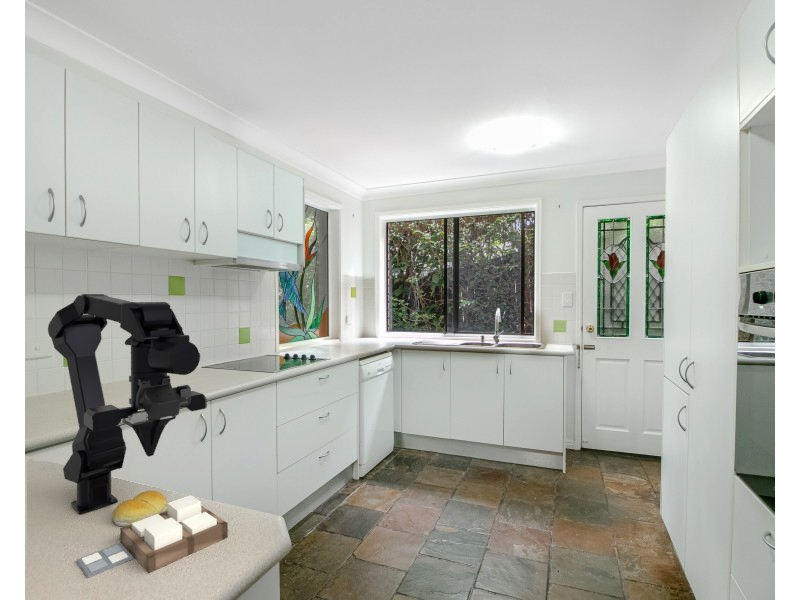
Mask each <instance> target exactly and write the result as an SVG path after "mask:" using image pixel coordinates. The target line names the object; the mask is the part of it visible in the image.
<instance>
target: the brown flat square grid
mask: <svg viewBox="0 0 800 600" xmlns="http://www.w3.org/2000/svg"><path fill="white" fill-rule="evenodd" d="M203 512H207V513H208V514H209V515H211V516H212V517H214V518H215V519H217V525H214V526H212V527H210V528H207V529H205V530H203V531H200V532H198V533H195V534H193V535H190V534H189V533H188V532H187V531H185V530H184V529H183V528H182V539H181V540H179V541H176V542H174V543H172V544H169V545H167V546H165V547H162V548H160V549H157V550H155V551H153V550H152V549H150V548H149V547H148V546H147V545H146V544H145V543H144V536H143V537H140V538H139V537H138V536H137V535H136V534H135V533H134V532H133V531H132V524H130V525H127V526H125V527H119V528H120V529H119V530H120V534H119V536H120V542H119V543H121V544H122V545H123V546H124V548H125V549H126V550H127V551H128V552H129V553H130V554H131V555H132V556H133V559H135V560H136V561H137V562H138V563H139V564H140V565H141V567H143V569H144V570H145V571H146V572H147V573H148V574H150V573H151V572H152V573H153V572H154V571H157V570H159V569H161V568H163V567H166V566H168V565H170V564H172V563H174V562H177V561H178V560H182V559H183V558H185V557H187V556H189V555H192V554H194V553H196V552H199V551H201V550H203V549H205V548H207V547H209V546H212V545H213V544H214V545H215V544H216V543H219V542H220V541H223V540H225V539H227V538H228V537H229V536H228V535H229V534H228V533H229V530H228V524H229V523H228V522H227V521H225V520H224V519H222V518H221V517H219V516H218V515H217V514H215V513H213V512H212V511H210V510H209V509H207V508H206V507H204V506H203V505H202V504H201V513H203ZM159 515H160V516H161V517H162V518H164V519H165V520H166V519H169V517H168V515H167V511H166V512H163V513H160V514H159ZM178 523H179V524H181V522H178Z"/></svg>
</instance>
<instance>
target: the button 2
mask: <svg viewBox="0 0 800 600" xmlns="http://www.w3.org/2000/svg"><path fill="white" fill-rule="evenodd" d="M181 539H182V525H181V524H179V523H178V522H177V521H176V520H174V519H173V518H172V517H171V518H169V519H166V520H163V521H161V522H158V523H155V524H153V525H150V526H147V527H145V528H144V543H145V544H146V545H147V546H148V547H149V548H150V549H152V550H153V551H155V550H157V549H160V548H162V547H165V546H167V545H169V544H172V543H174V542H176V541H179V540H181Z"/></svg>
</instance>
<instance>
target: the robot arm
mask: <svg viewBox="0 0 800 600" xmlns="http://www.w3.org/2000/svg"><path fill="white" fill-rule="evenodd" d="M75 297H76V298H75V299H74V301H72V302H71V303H70V304H68V305H66V306H64V307H63V308H61V309H59V310H57V311H56V313H55V314H54V315H53V317H52V319H51V320H50V322H49V323H48V326H47V333H48V335H49V337H50V338H51V340H52V341H51V342H52V345H53V348H54V349H55V350H56V351H57V353H59V354H60V355H61V356H62V357H64V358H65V360H66V363H67V364H66V365H67V369H68V374H69V379H70V385H71V392H72V395H73V400H74V407H75V411H76V417H77V423H78V424H77V425H78V430H77V432H76V435H75V437H74V440H73V441H72V444H71V450H72V454H71V455H70V457H69V459H68V460H67V462H66V463H65V465H64V466H63V468H62V469H63V470H62V471H63V477H64V479H65V480H67V481H70V482H72V483H74V484H76V499H75V500H73V501H71V502H70V504H71V506H72V507H73V509H74V510H75V511H76V512H77V513H78V514H79V515H83V514H84V513H88V512H91V511H94V510H98V509H102V508H105V507H107V506H110V505H113V504H114V505H115V504H116V503H118V501H119V500H118V498H117V497H116V496H115V495H113V494H112V472H113V471H116V470H120V469H122V468H123V465H124V461H125V456H126V451H127V446H126V442H125V439H124V435H123V428H122V427H121V426H120V425H119V424H120V423H121V422H122V423H123V424H125V425H127V426H128V427H130V428H132V430H133V431H134V432H135V435H137V436H136V437H137V438H138V440H139V442H140V444H141V446H142V449H143V451H144V453H145V455H146V456H147V457H152V456H154V455H155V452H156V449H157V446H158V444H159V441H160V439H161V436H162V434H163V432H164V430H165V427H166V426H167V424H168V423H170V421H172V420H176V418H177V416H179V415H180V410H181V408H182V409H183V408H186V409H187V410H189V411H190V412H195V411H200V410H205V409H207V408H208V406H207V405H208V404H207V401H208V399H207V397H206V395H205V394H203V393H202V392H198V391H194V390H192V389H191V386H190V385H188V384H184V385H183V384H182V385H178V386H177V387H172V386H173V385H172V383H171V378H170V377H171V376H170V375H168V374H171V375H179V376H187V375H190V374H191V373H193V372H194V371H195V370H196V369H197V368H198V366H199V363H200V362H201V361H200V360H201V353H200V352H199V349H198V347H197V346H196V345H195V344H194V343H192V342H191V341H190V334H185V332H184V331H183V330H184V329H183V327H182V325H181V324H180V322H179V321H178V319H177V315H176V314H175V312H174V311H173V309H172V308H171V307H172V306H171V305H170V304H169V303H168V302H166V301H138V302H137V301H131V300H130V301H129V300H125V299H120V298H116V297H112V296H108V295H107V294H106V295H105V294H104V293H83V294H81V295H77V296H75ZM108 320H109V321H112V322H115V323H118V324H120V325H119V327H120V329H122V330H123V331H125V332H127V333H129V334H130V337H128V338H127V339H126V340H125V341H124V345H125V346H130V375H128V382H129V383H130V398H128V404H129V405H130V406H127V407H122V408H121V407H120V408H119V407H117V406H115V405H113V404H106V401H105V395H104V391H103V388H102V387H103V386H102V381H101V376H100V371H99V366H98V361H97V355H96V351H97V350H98V347H99V345H100V343H101V341H102V339H103V338H102V332H103V330H104V329H105V328H106V326H107V325H108Z"/></svg>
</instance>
